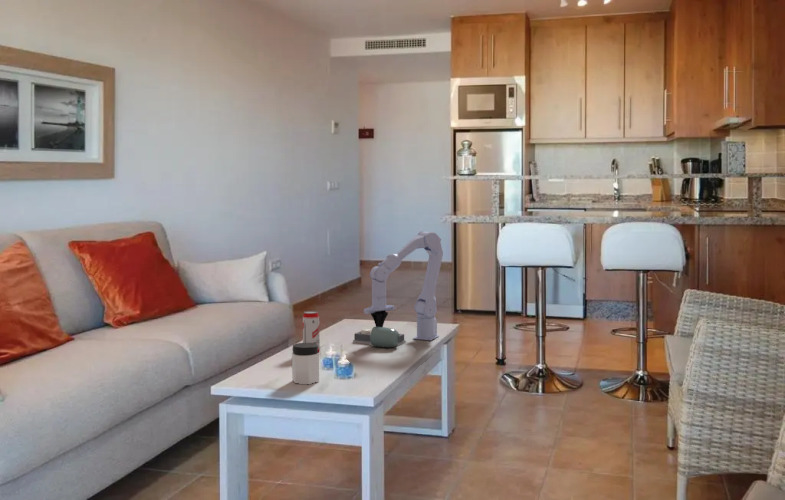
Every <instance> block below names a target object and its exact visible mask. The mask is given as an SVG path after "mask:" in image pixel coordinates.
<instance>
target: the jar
mask: <svg viewBox="0 0 785 500" xmlns="http://www.w3.org/2000/svg"><path fill="white" fill-rule="evenodd" d="M319 354H320V352H319V353H318V345H317V344H315V343H303V342H298V343H295V344H293V345H292V353H291V365H292V366H291V370H292V371H291V372H292V375H291V378H292V382H293V381H294V382H295V383H299V384H298V385H307V384H309V385H313V384H316V383H315V382H317V383H319V382H320V355H319ZM294 382H293V383H294ZM295 383H294V384H295ZM312 383H313V384H312Z"/></svg>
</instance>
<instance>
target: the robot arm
mask: <svg viewBox="0 0 785 500" xmlns="http://www.w3.org/2000/svg"><path fill="white" fill-rule="evenodd" d="M441 241H442V239H441V238H440V236H439V235H438V234H437V233H436V232H429V231H425V230H423V231H419V232H418V233H417V234H416V235H414V236H413V237H412V238H411V239H410V240H409V241H408V242H407V243H406V244H405V245H404V246H402V248H401V249H400V250H399V251H398V252H397V253H391V254H387V255H386V258H385V259H383V261H381V262H378V263H377V265H378V266H377V265H376V266H373V267H372V268H371V269H370V270H371V271H370V272H369V277H370V279H371V306H370V307H367V308H363V314H364V315H369V314H370V315H371V317H372V319H373V321H374V324H375V327H384V325H385V322H386V321H385V320H386V318H387V316H388V313H389V312H388V311H395V305H393V304H387V280H388V279H389V277H390V276H389V275H390V274H391V273H392V272H394V271H395V270H396V269H398V268H399V267H400V266H401V265H402V260H404V259H405V258H406V257H408V256H409V255H410V254H411V253H412V252H414V251H416V250H417V249H418V250H419V249H424V250H425V251H426V253H427V255H428V260H427V265H426V270H425V276H424V281H423V285H422V291H421V293H420V294H419V295H418V296H417V300H416V302H414V308H413V309H414V311H415V313H416V336H414V337H413V338H412V339H413V340H421V341H422V340H423V341H432V340H434V339H436V338H438V337H440V335H439V334H438V333H437V332H438V321H437V319H436V314H437V312H438V308H437V298H436V290H437V284H438V279H439V276H440V270H441V264H442V260H443V256H444V252H443V247H442V243H441Z"/></svg>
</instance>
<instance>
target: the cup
mask: <svg viewBox="0 0 785 500" xmlns="http://www.w3.org/2000/svg"><path fill="white" fill-rule="evenodd" d="M370 330H371V335H370V342H371V344H370V345H371V346H372V347H378V348H395V347H397V346H396V345H397V344H398V342H399V334H400V333H399V331H398V330H397V329H395V328H390V327H384V326H383V327H376V326H373V327H372V329H370Z"/></svg>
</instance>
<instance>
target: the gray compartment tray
mask: <svg viewBox="0 0 785 500" xmlns="http://www.w3.org/2000/svg"><path fill="white" fill-rule="evenodd" d="M353 335H354V337H353V338H354V339H352V343H358V344H359V343H360V344H369V345H371V342H370V335H371V334H361V330H360V331H358V332H355V333H354V334H353ZM406 341H407V340H406V339H405V334H404V333H399V342H398V344H397V345H396V346H395V347H398V346H401V345H403V344H405V343H406Z"/></svg>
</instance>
